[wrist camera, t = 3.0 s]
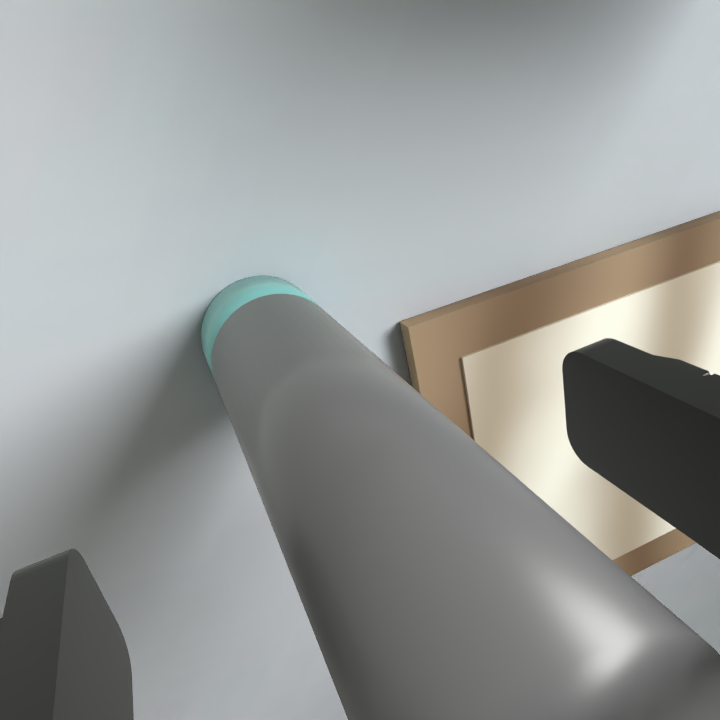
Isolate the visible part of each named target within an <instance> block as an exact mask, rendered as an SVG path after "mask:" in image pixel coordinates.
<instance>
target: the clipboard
mask: <svg viewBox="0 0 720 720" xmlns="http://www.w3.org/2000/svg"><path fill="white" fill-rule="evenodd" d="M400 326H401V331H402V337H403V342H404V347H405V352H406V357H407V362H408V368H409V373H410V378H411V383H412V387H413V388H414V389H415V390H416V391H417V392H419V393H420V394H421V395H422V396H423V397H424V398H426V399H427V400H428V401H429V402H430V403H431V404H432V405H434V406H435V407H436V408H437V409H438V410H439V411H441V412H442V413H443V414H444V415H445V416H446V417H447V418H449V419H450V420H451V421H452V422H453V423H454V424H456V425H457V426H458V427H459V428H460V429H461V430H462V431H464V432H465V433H466V434H467V435H468V436H469V437H471V438H472V439H473V440H474V441H475V442H476V443H477V444H479V445H480V446H481V447H482V448H483V449H484V450H485V451H487V452H488V453H489V454H490V455H491V456H492V457H494V458H495V459H496V460H497V461H498V462H499V463H500V464H502V465H503V466H504V467H505V468H506V469H507V470H509V471H510V472H511V473H512V474H513V475H514V476H515V477H517V478H518V479H519V480H520V481H521V482H522V483H524V484H525V485H526V486H527V487H528V488H529V489H530V490H532V491H533V492H534V493H535V494H536V495H537V496H539V497H540V498H541V499H542V500H543V501H544V502H545V503H547V504H548V505H549V506H550V507H551V508H552V509H554V510H555V511H556V512H557V513H558V514H559V515H560V516H562V517H563V518H564V519H565V520H566V521H567V522H569V523H570V524H571V525H572V526H573V527H574V528H575V529H577V530H578V531H579V532H580V533H581V534H582V535H583V536H585V537H586V538H587V539H588V540H589V541H590V542H592V543H593V544H594V545H595V546H596V547H597V548H598V549H600V550H601V551H602V552H603V553H604V554H605V555H607V556H608V557H609V558H610V559H611V560H612V561H613V562H615V563H616V564H617V565H618V566H619V567H620V568H622V569H623V570H624V571H625V572H626V573H627V574H628V575H630V576H632V575H634V574H636V573H638V572H640V571H642V570H644V569H646V568H648V567H650V566H651V565H653V564H655V563H657V562H659V561H661V560H663V559H665V558H667V557H669V556H671V555H673V554H675V553H677V552H679V551H681V550H683V549H685V548H686V547H688V546H690V545H692V544H694V543H696V542H695V541H693V540H692V539H691V538H689V537H688V536H686V535H685V534H683V533H682V532H681V531H679V530H678V529H676V528H675V527H673V526H672V525H671V524H669V523H668V522H666V521H665V520H663V519H662V518H661V517H659V516H658V515H656V514H655V513H653V512H652V511H651V510H649V509H648V508H646V507H645V506H643V505H642V504H640V503H639V502H638V501H636V500H635V499H633V498H632V497H630V496H629V495H628V494H626V493H625V492H623V491H622V490H620V489H619V488H618V487H616V486H615V485H613V484H612V483H610V482H609V481H608V480H606V479H605V478H603V477H602V476H600V475H599V474H598V473H596V472H595V471H593V470H592V469H590V468H589V467H588V466H586V465H585V464H584V463H583V462H582V461H581V460H580V459H579V458H578V456H577V455H576V454H575V452H574V450H573V449H572V447H571V444H570V442H569V439H568V435H567V428H566V414H565V400H564V387H563V373H562V364H563V360H564V358H565V356H566V355H567V354H568V353H570V352H572V351H575V350H577V349H580V348H582V347H585V346H587V345H590V344H592V343H595V342H597V341H600V340H602V339H605V338H612V339H615V340H618V341H620V342H623V343H625V344H628V345H630V346H633V347H635V348H637V349H640V350H642V351H645V352H647V353H650V354H652V355H657V356H662V357H668V358H674V359H680V360H682V361H685V362H687V363H690V364H692V365H695V366H697V367H700V368H702V369H705V370H707V371H709V373H710V375H712V374H717V375H720V211H718V212H715V213H712V214H710V215H707V216H704V217H701V218H698V219H695V220H692V221H689V222H686V223H684V224H681V225H678V226H675V227H672V228H669V229H666V230H663V231H660V232H658V233H655V234H652V235H649V236H646V237H643V238H640V239H637V240H634V241H632V242H629V243H626V244H623V245H620V246H617V247H614V248H611V249H608V250H605V251H603V252H600V253H597V254H594V255H591V256H588V257H585V258H582V259H579V260H577V261H574V262H571V263H568V264H565V265H562V266H559V267H556V268H553V269H551V270H548V271H545V272H542V273H539V274H536V275H533V276H530V277H527V278H525V279H522V280H519V281H516V282H513V283H510V284H507V285H504V286H501V287H498V288H496V289H493V290H490V291H487V292H484V293H481V294H478V295H475V296H472V297H470V298H467V299H464V300H461V301H458V302H455V303H452V304H449V305H446V306H444V307H441V308H438V309H435V310H432V311H429V312H426V313H423V314H420V315H418V316H415V317H412V318H409V319H406V320H403V321H400Z"/></svg>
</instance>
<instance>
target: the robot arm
mask: <svg viewBox="0 0 720 720" xmlns="http://www.w3.org/2000/svg"><path fill="white" fill-rule="evenodd" d="M562 373H563V387H564V400H565V414H566V428H567V435H568V439H569V442H570V444H571V447H572V449H573V450H574V452H575V454H576V455H577V456H578V458H579V459H580V460H581V461H582V462H583V463H584V464H585V465H586V466H588V467H589V468H590V469H592V470H593V471H595V472H596V473H598V474H599V475H600V476H602V477H603V478H605V479H606V480H608V481H609V482H610V483H612V484H613V485H615V486H616V487H618V488H619V489H620V490H622V491H623V492H625V493H626V494H628V495H629V496H630V497H632V498H633V499H635V500H636V501H638V502H639V503H640V504H642V505H643V506H645V507H646V508H648V509H649V510H651V511H652V512H653V513H655V514H656V515H658V516H659V517H661V518H662V519H663V520H665V521H666V522H668V523H669V524H671V525H672V526H673V527H675V528H676V529H678V530H679V531H681V532H682V533H683V534H685V535H686V536H688V537H689V538H691V539H692V540H693V541H695V542H696V543H698V544H699V545H701V546H702V547H703V548H705V549H706V550H708V551H709V552H711V553H712V554H713V555H715V556H716V557H718V558H719V559H720V375H717V374H712V375H710V373H709V371H707V370H705V369H702V368H700V367H697V366H695V365H692V364H690V363H687V362H685V361H682V360H680V359H674V358H668V357H662V356H657V355H652V354H650V353H647V352H645V351H642V350H640V349H637V348H635V347H633V346H630V345H628V344H625V343H623V342H620V341H618V340H615V339H612V338H605V339H602V340H600V341H597V342H595V343H592V344H590V345H587V346H585V347H582V348H580V349H577V350H575V351H572V352H570V353H568V354H567V355H566V356H565V358H564V360H563V364H562ZM0 720H134V719H133V695H132V673H131V664H130V658H129V654H128V650H127V646H126V643H125V640H124V637H123V634H122V632H121V629H120V627H119V625H118V623H117V621H116V619H115V617H114V616H113V614H112V612H111V610H110V608H109V606H108V604H107V602H106V600H105V599H104V597H103V595H102V593H101V591H100V589H99V587H98V585H97V583H96V582H95V580H94V578H93V576H92V574H91V572H90V570H89V568H88V566H87V565H86V563H85V561H84V559H83V557H82V556H81V555H80V553H79V552H78V551H77V550H75V549H70V550H68V551H65V552H63V553H60V554H58V555H55V556H53V557H50V558H48V559H45V560H42V561H40V562H37V563H35V564H32V565H30V566H27V567H25V568H22V569H20V570H17V571H15V572H14V573H13V575H12V578H11V581H10V586H9V590H8V595H7V600H6V604H5V609H4V613H3V618H1V619H0Z"/></svg>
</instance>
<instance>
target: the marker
mask: <svg viewBox="0 0 720 720" xmlns="http://www.w3.org/2000/svg"><path fill="white" fill-rule="evenodd" d="M201 343H202V348H203V352H204V354H205V357H206V359H207V362H208V365H209V367H210V370H211V372H212V375H213V377H214V380H215V382H216V385H217V387H218V390H219V392H220V395H221V398H222V400H223V403H224V405H225V408H226V410H227V413H228V415H229V418H230V420H231V423H232V425H233V428H234V431H235V433H236V436H237V438H238V441H239V443H240V446H241V448H242V451H243V453H244V456H245V459H246V461H247V464H248V466H249V469H250V471H251V474H252V476H253V479H254V481H255V484H256V486H257V489H258V492H259V494H260V497H261V499H262V502H263V504H264V507H265V509H266V512H267V514H268V517H269V519H270V522H271V525H272V527H273V530H274V532H275V535H276V537H277V540H278V542H279V545H280V547H281V550H282V552H283V555H284V558H285V560H286V563H287V565H288V568H289V570H290V573H291V575H292V578H293V580H294V583H295V585H296V588H297V591H298V593H299V596H300V598H301V601H302V603H303V606H304V608H305V611H306V613H307V616H308V618H309V621H310V624H311V626H312V629H313V631H314V634H315V636H316V639H317V641H318V644H319V646H320V649H321V651H322V654H323V657H324V659H325V662H326V664H327V667H328V669H329V672H330V674H331V677H332V679H333V682H334V685H335V687H336V690H337V692H338V695H339V697H340V700H341V702H342V705H343V707H344V710H345V712H346V715H347V718H348V720H720V655H719V654H718V652H717V651H716V650H715V649H714V648H713V647H711V646H710V645H709V644H708V643H707V642H706V641H705V640H703V639H702V638H701V637H700V636H699V635H698V634H696V633H695V632H694V631H693V630H692V629H691V628H690V627H688V626H687V625H686V624H685V623H684V622H683V621H681V620H680V619H679V618H678V617H677V616H676V615H675V614H673V613H672V612H671V611H670V610H669V609H668V608H667V607H665V606H664V605H663V604H662V603H661V602H660V601H658V600H657V599H656V598H655V597H654V596H653V595H652V594H650V593H649V592H648V591H647V590H646V589H645V588H643V587H642V586H641V585H640V584H639V583H638V582H637V581H635V580H634V579H633V578H632V577H631V576H630V575H628V574H627V573H626V572H625V571H624V570H623V569H622V568H620V567H619V566H618V565H617V564H616V563H615V562H613V561H612V560H611V559H610V558H609V557H608V556H607V555H605V554H604V553H603V552H602V551H601V550H600V549H598V548H597V547H596V546H595V545H594V544H593V543H592V542H590V541H589V540H588V539H587V538H586V537H585V536H583V535H582V534H581V533H580V532H579V531H578V530H577V529H575V528H574V527H573V526H572V525H571V524H570V523H569V522H567V521H566V520H565V519H564V518H563V517H562V516H560V515H559V514H558V513H557V512H556V511H555V510H554V509H552V508H551V507H550V506H549V505H548V504H547V503H545V502H544V501H543V500H542V499H541V498H540V497H539V496H537V495H536V494H535V493H534V492H533V491H532V490H530V489H529V488H528V487H527V486H526V485H525V484H524V483H522V482H521V481H520V480H519V479H518V478H517V477H515V476H514V475H513V474H512V473H511V472H510V471H509V470H507V469H506V468H505V467H504V466H503V465H502V464H500V463H499V462H498V461H497V460H496V459H495V458H494V457H492V456H491V455H490V454H489V453H488V452H487V451H485V450H484V449H483V448H482V447H481V446H480V445H479V444H477V443H476V442H475V441H474V440H473V439H472V438H471V437H469V436H468V435H467V434H466V433H465V432H464V431H462V430H461V429H460V428H459V427H458V426H457V425H456V424H454V423H453V422H452V421H451V420H450V419H449V418H447V417H446V416H445V415H444V414H443V413H442V412H441V411H439V410H438V409H437V408H436V407H435V406H434V405H432V404H431V403H430V402H429V401H428V400H427V399H426V398H424V397H423V396H422V395H421V394H420V393H419V392H417V391H416V390H415V389H414V388H413V387H412V386H411V385H409V384H408V383H407V382H406V381H405V380H404V379H402V378H401V377H400V376H399V375H398V374H397V373H396V372H394V371H393V370H392V369H391V368H390V367H389V366H387V365H386V364H385V363H384V362H383V361H382V360H381V359H379V358H378V357H377V356H376V355H375V354H374V353H373V352H371V351H370V350H369V349H368V348H367V347H366V346H364V345H363V344H362V343H361V342H360V341H359V340H358V339H356V338H355V337H354V336H353V335H352V334H351V333H349V332H348V331H347V330H346V329H345V328H344V327H343V326H341V325H340V324H339V323H338V322H337V321H336V320H334V319H333V318H332V317H331V316H330V315H329V314H328V313H326V312H325V311H324V310H323V309H322V308H321V307H319V306H318V305H317V304H316V303H315V302H314V301H313V300H311V299H310V298H309V297H308V296H307V295H306V294H304V293H303V292H302V291H301V290H300V289H299V288H297V287H296V286H295V285H293V284H292V283H290V282H288V281H286V280H283V279H280V278H277V277H272V276H252V277H248V278H244V279H241V280H239V281H236V282H234V283H233V284H231V285H229V286H228V287H226V288H225V289H223V290H222V291H221V292H220V293H219V294H218V295H217V296H216V297H215V298H214V300H213V301H212V302H211V304H210V305H209V307H208V309H207V311H206V313H205V315H204V319H203V322H202V327H201Z"/></svg>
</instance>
